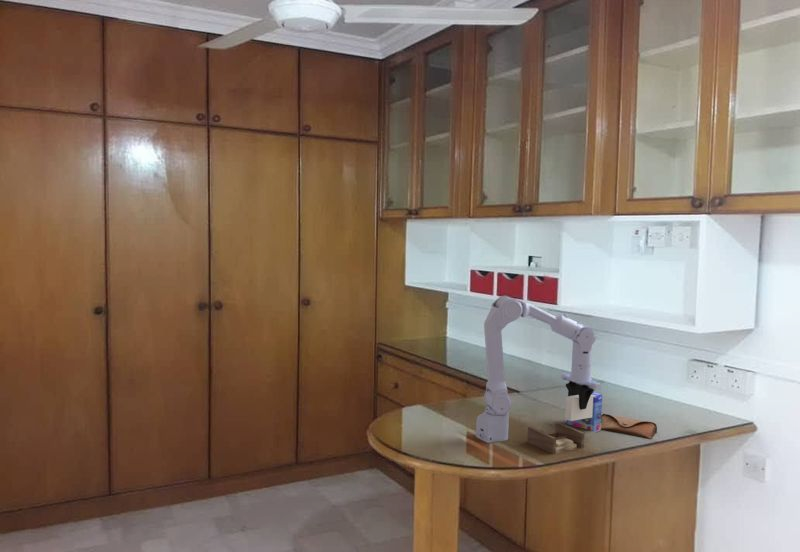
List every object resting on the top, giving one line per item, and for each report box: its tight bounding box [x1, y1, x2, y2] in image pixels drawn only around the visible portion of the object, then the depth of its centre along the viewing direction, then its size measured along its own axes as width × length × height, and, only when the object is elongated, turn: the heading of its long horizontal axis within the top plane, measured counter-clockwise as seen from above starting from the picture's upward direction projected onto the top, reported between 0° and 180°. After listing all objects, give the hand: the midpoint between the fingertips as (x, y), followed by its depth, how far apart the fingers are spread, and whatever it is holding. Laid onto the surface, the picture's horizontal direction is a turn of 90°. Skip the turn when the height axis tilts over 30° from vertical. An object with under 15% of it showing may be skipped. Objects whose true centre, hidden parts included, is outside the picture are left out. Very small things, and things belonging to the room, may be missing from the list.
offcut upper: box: [556, 438, 573, 447], centre depth 187 cm, size 6×3×1 cm, turn 119°
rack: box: [526, 421, 585, 455], centre depth 189 cm, size 12×11×6 cm
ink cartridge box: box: [566, 390, 603, 433], centre depth 208 cm, size 10×6×14 cm, turn 47°
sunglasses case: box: [600, 413, 658, 440], centre depth 207 cm, size 18×7×7 cm, turn 61°
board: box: [564, 395, 593, 421], centre depth 197 cm, size 9×2×7 cm, turn 119°
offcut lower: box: [556, 443, 577, 452], centre depth 187 cm, size 8×4×1 cm, turn 119°
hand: (579, 407), depth 197 cm, fingers closed on board, 2 cm apart
